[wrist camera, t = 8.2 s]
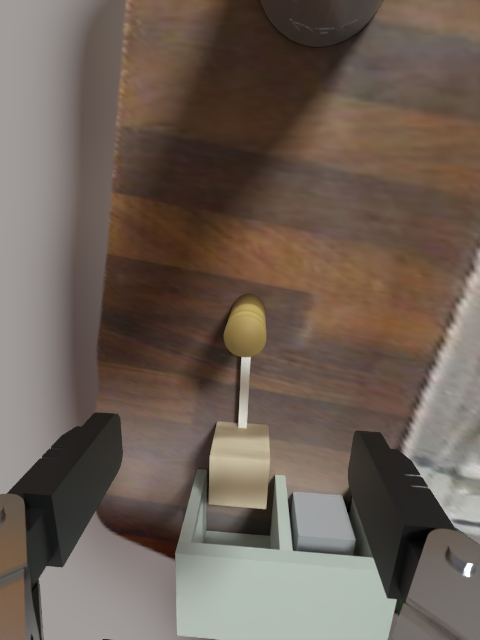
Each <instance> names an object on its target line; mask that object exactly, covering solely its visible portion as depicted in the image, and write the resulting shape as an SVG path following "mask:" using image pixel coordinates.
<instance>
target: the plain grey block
mask: <svg viewBox="0 0 480 640" xmlns="http://www.w3.org/2000/svg"><path fill="white" fill-rule="evenodd" d="M290 529H291V538H292V548H293V551H300V552H312V553H324V554H336V555H348V556H353V554H354V548H355V542H356V539H355V536H354V532H353V529H352V526H351V523H350V519H349V516H348V513H347V510H346V506H345V503H344V500H343V497H342V495H329V494H315V493H300V492H293V499H292V510H291V520H290Z"/></svg>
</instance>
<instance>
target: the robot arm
mask: <svg viewBox="0 0 480 640" xmlns="http://www.w3.org/2000/svg"><path fill="white" fill-rule="evenodd" d="M383 1H384V0H260V2H261V5H262V7H263V9H264V11H265V13H266V15H267V17H268V18H269V20H270V21H271V23H272V24H273V25H274V26H275V27H276V28H277V30H278V31H279V32H281V33H282V34H283V35H285V36H286V37H287V38H289V39H290V40H292V41H294V42H297V43H299V44H302V45H306V46H313V47H322V46H331V45H334V44H337V43H339V42H342V41H345V40H346V39H348V38H350V37H351V36H353V35H354V34H356V33H358V32H359V31H360V30H361V29H362V28H363V27H364V26H365V25H366V24H367V23H368V22H369V21H370V20H371V19H372V17H373V16H374V15H375V13H376V12H377V10H378V9H379V8H380V6H381V4H382V2H383ZM122 456H123V449H122V436H121V423H120V417H119V415H118V414H112V413H97V412H96V413H94V414H93V415H92V416H91V417H90V418H89V419H88V420H87V421H86V423H85V424H84V425H83V426H82V427H79V426H77V427H75V428H73V429H72V430H70V431H68V432H67V433H65V434H63V435H62V436H61V437H60V438H59V439H58V440H57V441H56V442H55V443H54V444H53V445H52V446H51V449H49V450H48V451H47V452H46V453H45V454H44V455H43V456H42V459H39V460H38V461H37V462H36V463H35V464H34V465H33V466H32V468H31V469H30V470H29V471H28V472H27V473H26V474H25V475H24V476H23V477H22V478H21V479H20V480H19V481H18V482H17V483H16V485H14V486H13V488H12V489H11V490H10V491H9V492H8V493H7V494H1V495H0V640H44V638H43V624H42V610H41V596H40V584H39V577H40V575H41V574H42V572H43V570H44V569H45V567H46V566H55V567H63V566H64V564H65V563H66V561H67V559H68V557H69V556H70V554H71V552H72V550H73V549H74V547H75V545H76V544H77V542H78V540H79V538H80V537H81V535H82V533H83V531H84V529H85V528H86V526H87V524H88V523H89V521H90V519H91V518H92V516H93V514H94V512H95V511H96V509H97V507H98V506H99V504H100V502H101V500H102V499H103V497H104V495H105V493H106V492H107V490H108V488H109V487H110V485H111V483H112V481H113V480H114V478H115V476H116V474H117V473H118V471H119V468H120V466H121V462H122ZM348 481H349V487H350V491H351V494H352V497H353V500H354V503H355V506H356V509H357V512H358V515H359V517H360V520H361V523H362V526H363V529H364V532H365V535H366V538H367V541H368V544H369V547H370V550H371V553H372V556H373V559H374V561H375V564H376V567H377V570H378V573H379V576H380V579H381V582H382V585H383V588H384V591H385V594H386V597H387V598H388V599H399V600H403V601H404V603H403V606H402V609H401V612H400V615H399V618H398V621H397V624H396V627H395V629H394V633H393V636H392V638H391V640H480V544H478V543H477V542H476V541H474V540H473V539H471V538H470V537H468V536H466V535H464V534H462V533H460V532H457V531H456V529H455V528H454V526H453V524H452V523H451V521H450V520H449V518H448V517H447V515H446V514H445V512H444V510H443V509H442V507H441V506H440V504H439V503H438V501H437V500H436V498H435V497H434V495H433V493H432V492H431V490H430V489H428V486H427V484H426V483H425V481H424V479H423V478H422V477H420V473H419V472H418V470H417V469H416V467H415V466H414V464H413V462H412V461H411V460H410V459H408V458H407V457H406V456H405V455H404V454H403V453H401V452H400V451H399V450H398V449H390V448H389V446H388V444H387V442H386V441H385V439H384V437H383V436H382V434H381V433H380V432H369V431H355V433H354V437H353V443H352V449H351V456H350V462H349V468H348ZM103 640H109V639H103Z"/></svg>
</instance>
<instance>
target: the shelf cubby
mask: <svg viewBox="0 0 480 640" xmlns="http://www.w3.org/2000/svg"><path fill="white" fill-rule="evenodd" d="M206 507H207V470H204V469H197V472H196V476H195V480H194V483H193V487H192V491H191V495H190V499H189V503H188V506H187V510H186V514H185V518H184V522H183V526H182V529H181V533H180V537H179V541H178V545H177V549H176V553H175V563H176V605H177V635H179V636H188V637H199V638H209V639H219V640H388V636H389V631H390V627H391V623H392V619H393V614H394V610H395V606H396V602H397V599H388V598H387V597H386V594H385V591H384V588H383V585H382V582H381V579H380V576H379V573H378V570H377V567H376V564H375V561H374V559H373V556H372V553H371V550H370V547H369V544H368V541H367V538H366V535H365V532H364V529H363V526H362V523H361V520H360V517H359V515H358V512H357V509H356V506H355V503H354V500H353V497H352V502H351V508H350V514H349V519H350V523H351V526H352V529H353V532H354V536H355V539H356V542H355V548H354V554H353V556H348V555H336V554H324V553H312V552H300V551H293V548H292V538H291V529H290V519H289V509H288V499H287V489H286V480H285V475H275V483H274V496H273V508H272V521H271V533H270V536H265V535H253V534H241V533H229V532H217V531H206Z"/></svg>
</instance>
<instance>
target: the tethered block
mask: <svg viewBox="0 0 480 640" xmlns="http://www.w3.org/2000/svg"><path fill="white" fill-rule="evenodd" d="M224 342H225V345H226V347H227V348H228V350H229V351H230V352H231V353H233V354H234V355H236V356H239V357H242V358H241V379H240V400H239V421H238V423H234V422H220V421H217V425H216V429H215V434H214V439H213V443H212V448H211V452H210V465H209V504H210V505H222V506H234V507H246V508H258V509H266V505H267V492H268V480H269V468H270V447H269V425H262V424H248V423H247V413H248V395H249V377H250V359H251V356H254V355H256V354H258V353H259V352H260V351H261V350H262V349H263V347H264V346H265V343H266V322H265V307H264V304H263V302H262V300H261V299H260V298H259V297H257V296H255V295H252V294H245V295H242V296H240V297H239V298H237V299H236V301H235V302H234V305H233V308H232V311H231V314H230V316H229V319H228V322H227V325H226V328H225V331H224Z"/></svg>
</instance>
